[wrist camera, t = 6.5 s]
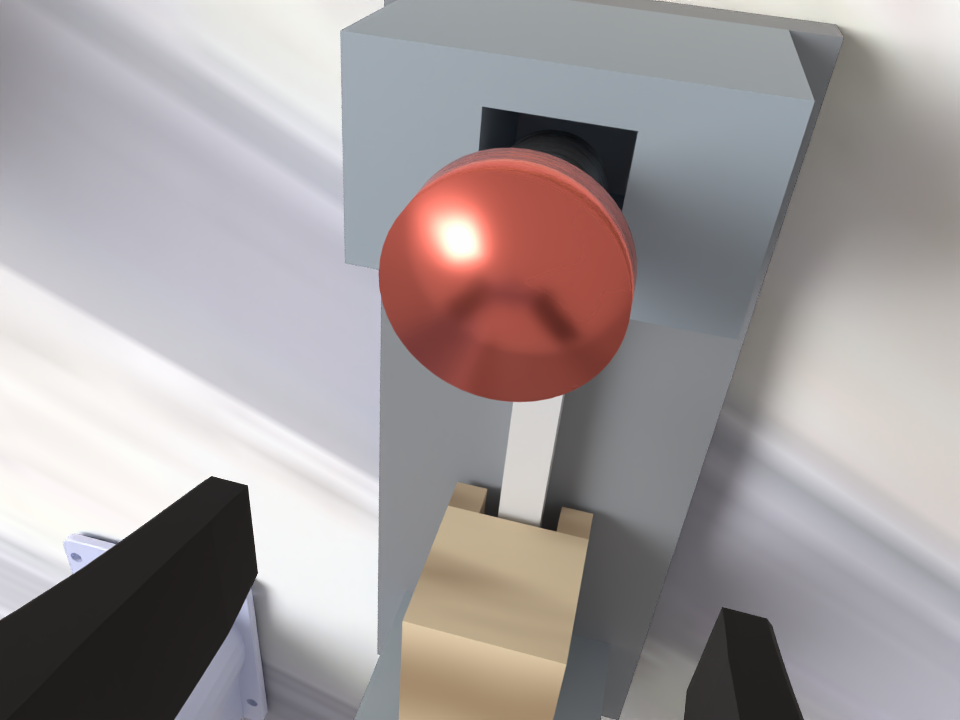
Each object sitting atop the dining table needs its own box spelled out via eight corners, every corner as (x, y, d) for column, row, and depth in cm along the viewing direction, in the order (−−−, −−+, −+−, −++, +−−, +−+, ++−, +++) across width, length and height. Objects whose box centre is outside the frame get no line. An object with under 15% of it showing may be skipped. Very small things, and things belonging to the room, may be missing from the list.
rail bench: (621, 690, 29) (601, 878, 24) (388, 627, 30) (321, 792, 25) (835, 24, 16) (895, 120, 10) (403, -34, 17) (267, 26, 12)
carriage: (567, 623, 25) (539, 774, 21) (447, 592, 26) (397, 733, 22) (593, 513, 22) (566, 664, 18) (457, 481, 23) (402, 620, 19)
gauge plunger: (631, 287, 14) (605, 424, 10) (453, 252, 14) (377, 375, 11) (671, 101, 12) (657, 200, 9) (465, 69, 12) (379, 152, 9)
